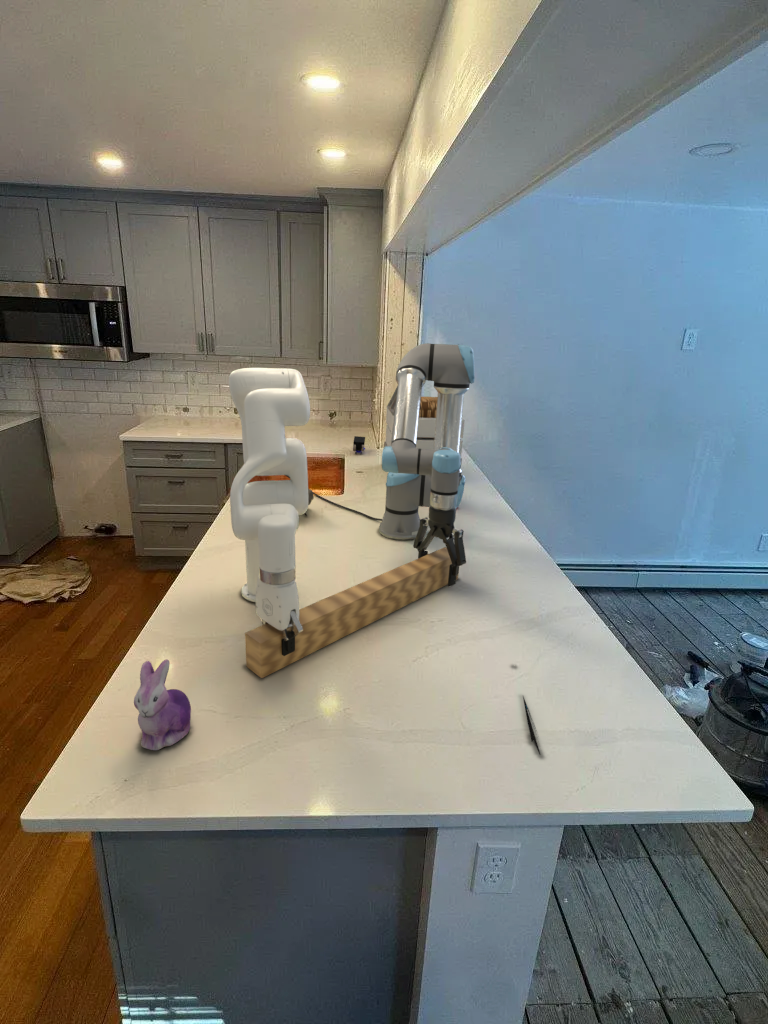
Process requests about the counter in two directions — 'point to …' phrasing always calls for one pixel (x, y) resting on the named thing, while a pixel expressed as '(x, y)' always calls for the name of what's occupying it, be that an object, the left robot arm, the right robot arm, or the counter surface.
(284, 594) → the left robot arm
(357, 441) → the figurine character
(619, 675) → the counter surface
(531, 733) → the feather
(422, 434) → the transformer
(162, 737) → the figurine
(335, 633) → the beam
